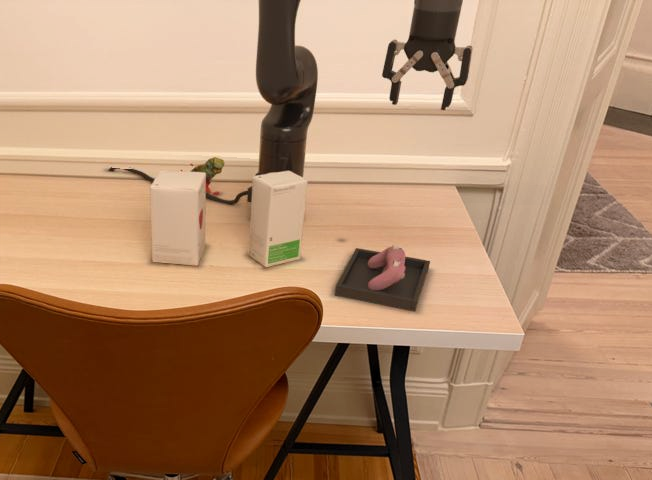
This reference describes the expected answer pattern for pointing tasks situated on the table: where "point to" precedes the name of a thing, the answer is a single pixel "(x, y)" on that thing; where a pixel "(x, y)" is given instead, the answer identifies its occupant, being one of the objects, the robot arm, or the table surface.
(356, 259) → the tray
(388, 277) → the video game controller
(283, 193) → the cosmetic box
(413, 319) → the table surface
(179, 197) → the rectangular carton
